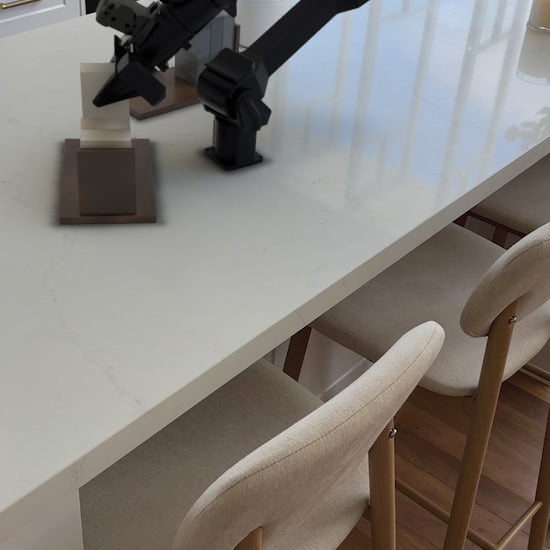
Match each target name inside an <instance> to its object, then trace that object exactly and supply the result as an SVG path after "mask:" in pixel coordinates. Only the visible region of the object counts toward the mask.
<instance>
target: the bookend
mask: <svg viewBox="0 0 550 550" xmlns="http://www.w3.org/2000/svg"><path fill="white" fill-rule="evenodd" d="M191 42H192V47H191V48H190V49H189V50H188V51H186V50H185V49H184V48H182V49H181V50H180V51H179V52H178V53H177V54H176V55H175V56H174V65H173V66H171V67H170V66H169V68H168V69H167V70H166V71H165V72H164V73H163V72H162V71H161V70H160V69H158V71H159V72H160V73H161V74H162V75H164V78H165V85H166V98H165V99H163V100H162V101H161V102H160V103H159V104H158V105H157V106H156V107H153V106H151V105H150V104H149V103H148V102H147V101H146V100H145V99H144V98H143V97H142V96H139V97H135V98H130V99H129V115H131V116H133V117H135V118H137V119H138V120H140V121H141V120H144V119H149V118H151V117H155V116H158V115H161V114H165V113H168V112H171V111H174V110H178V109H182V108H184V107H189V106H192V105H195V104H198V103H202V102H201V101H200V100H199V99H198V96H197V83H198V77H199V75H200V73H201V72H202V71H203V70H204V69H205V68H206V66H204V64H205V63H207V62H209V61H211V60H212V59H214V58H215V57H216V55H217V54H218V53H219V52H220V51H221V50H222V49H224V48H226V47H228V48H230V49H232V50H234V51H236V52H240V45H239V43H240V25H239V24H236V23H235V17H234V18H233V17H231V16H230V15H229V14H228V13H227V12H225V11H224V10H223V11H222V12H221V13H220V14H219V15H217V16H216V17H215V18H214V19H213V20H212V21H211V22H210V23H209V24H208V25H207V26H206V27H205V28H204V29H203V30H201V31H200V32H199V33H198V34H197V35H196V36H195V37H194V38H193V39H192V40H191Z"/></svg>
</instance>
